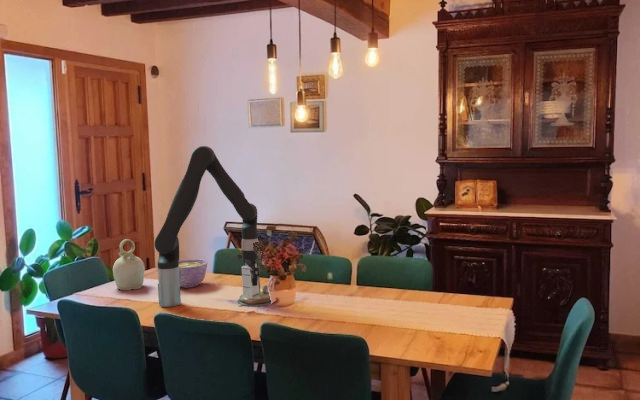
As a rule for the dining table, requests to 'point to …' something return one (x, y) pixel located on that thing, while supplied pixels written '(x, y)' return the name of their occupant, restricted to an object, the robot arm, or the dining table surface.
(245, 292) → the syrup box
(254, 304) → the base plate
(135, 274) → the jug
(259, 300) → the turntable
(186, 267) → the bowl of food
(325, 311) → the dining table surface
